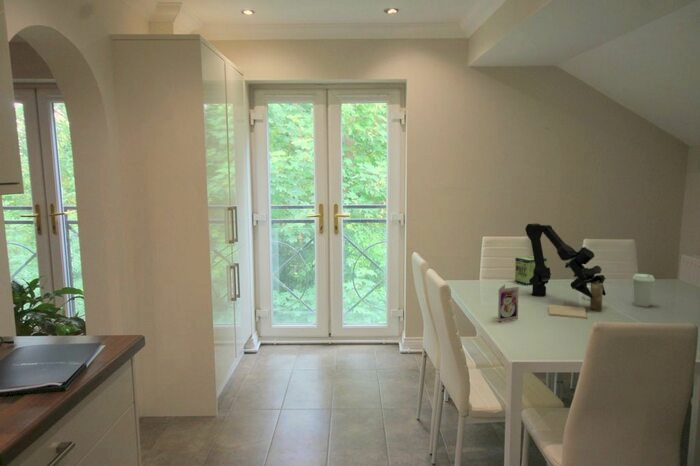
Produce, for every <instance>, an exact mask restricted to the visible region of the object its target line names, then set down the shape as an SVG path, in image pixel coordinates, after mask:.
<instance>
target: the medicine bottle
mask: <svg viewBox="0 0 700 466" xmlns="http://www.w3.org/2000/svg"><path fill="white" fill-rule="evenodd" d="M595 276H596V275H595ZM595 276H594V277H595ZM594 277H592V279H593V278H594ZM587 287H588V289H589V291H590V292H591V283H588V284H587ZM582 298H584V299H585V300H586V301H590V297H588V296H587V295H585V294H583V293H582Z"/></svg>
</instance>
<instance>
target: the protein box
mask: <svg viewBox="0 0 700 466" xmlns="http://www.w3.org/2000/svg"><path fill="white" fill-rule="evenodd" d="M547 259H548V258H547V257H544V263H545V266H546V267H547ZM514 260H515V264H514V265H515V266H514V267H515V269H514V272H515V273H514V283H515V282H517V284H519V283H520V285H523V284H524V285H523V286H526V285H527V286H528V285H529V286H533V284H530V281H529V280H530V279H531V278H532V277H533V271H534V268H535V262H534V256H533V255H531V256H530V255H529V256H523V257H515V259H514Z"/></svg>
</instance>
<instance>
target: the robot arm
mask: <svg viewBox="0 0 700 466" xmlns="http://www.w3.org/2000/svg"><path fill="white" fill-rule="evenodd" d="M525 234H526V235H527V236H526V237H528V239H529V240H530V243H531V248H532V250H531V251H532V254H533V255H532V256H534V262H535V268H534V271H533V277H532V278H531V279H530V280H529V281H530V284H533V285H532V291H531V292H532V293H531V295H532V296H539V297H546V294H547V287H546V284H548V283H549V280H550V279H551V275H552V274H551V268H550V267H547V265H546V266H545V263H544V258H545V257H544V251H543V247H542V241H541V239H542V236H543V235H544V236H545V237H546V238H547V239H548V240H549V242H550V243H551V244H552V245H553V246H554V248H555V249H556V251H557V252H556V253H557V255H558V256H559V259H560V260H561V261H565V266H564V268H565V269H567V268H568V269H570V270H571V271H572V273H574V274H573V277H574V278H575V279H574V280H573V281H572V282H571V283H570V287H571V289H572V290H575V291H578V292H579V293H581V294H582V295H583V294H585V295H587V296H588V297H590V298H592V297H593V296H592V294H591V292H590V291H589V289H588V287H587V284H588V283H592V282H598V283H602V284H603V285H604V282H605V280H606V277H605V275H604V274H602V273H601V272H602V268H601V266H600V265H595V266H593V267H590V268H589V267H585V266H584V265H587V264H588V263H589V262H590V261H591V260H593V259H594V257H595V253H594V252H593V251H592V250H590V249H588V248H587V247H586V246H584V247H581V249H579V251H577V250H575V249H574V248H573V247H572V246H570V245H568V244H567V243H565V242H564V241H563V240H562V238H561V237H560V236H559V235H558V233H556V231H555V230H554V229H553V227H552V225H549V224H540V223H539V222H538V223H528V224H527V225H525ZM566 261H567V262H566ZM594 276H595V277H594ZM592 277H594V278H593V279H592ZM606 295H607V294H606V289H605V288H604V286H603V291H602V296H604V297H605V296H606Z"/></svg>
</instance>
